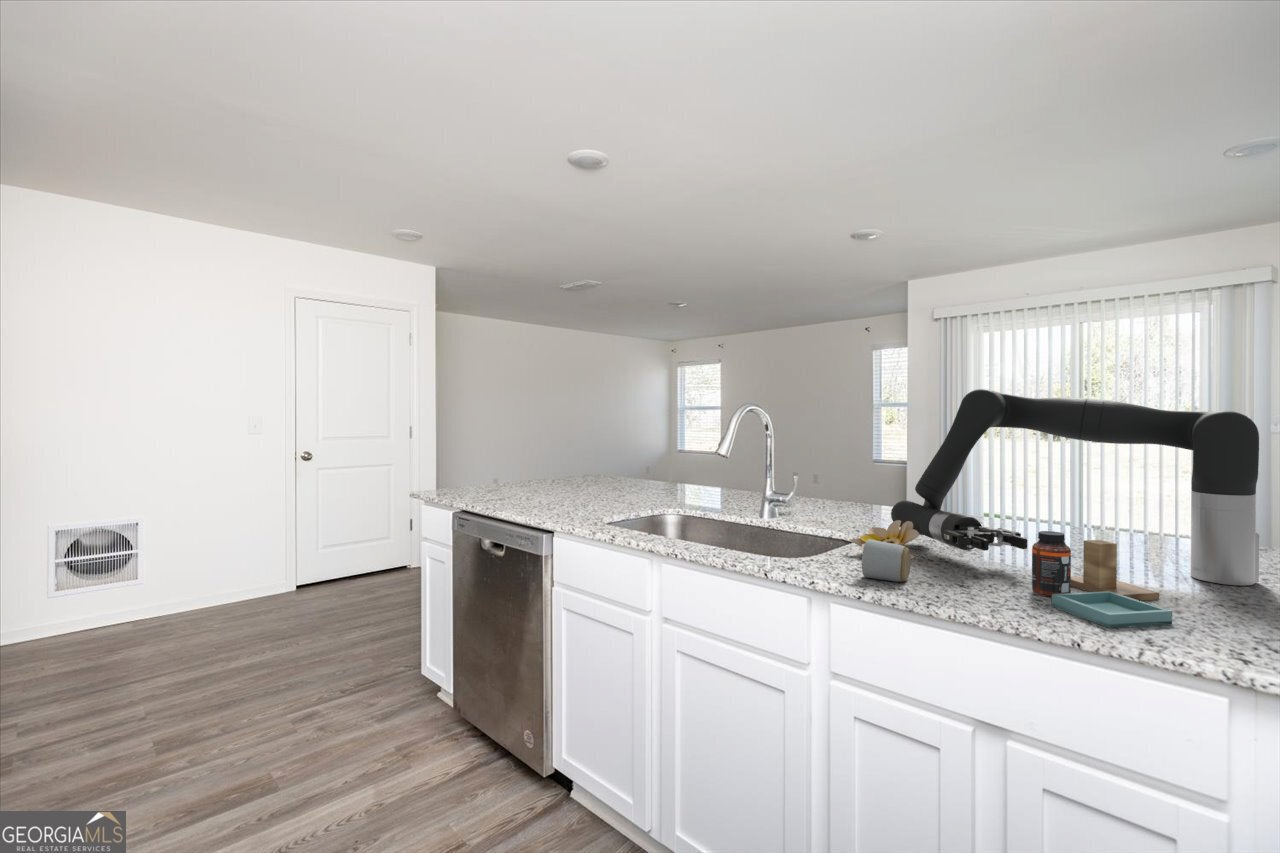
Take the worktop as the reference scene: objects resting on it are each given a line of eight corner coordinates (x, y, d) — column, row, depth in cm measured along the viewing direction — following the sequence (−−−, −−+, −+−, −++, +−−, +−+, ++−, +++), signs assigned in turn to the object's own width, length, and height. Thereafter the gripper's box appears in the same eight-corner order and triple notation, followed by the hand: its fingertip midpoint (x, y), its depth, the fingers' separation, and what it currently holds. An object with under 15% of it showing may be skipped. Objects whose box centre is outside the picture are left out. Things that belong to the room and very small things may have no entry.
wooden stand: (1100, 581, 122) (1100, 534, 122) (1159, 599, 110) (1159, 547, 110) (1063, 583, 121) (1063, 536, 120) (1119, 601, 109) (1119, 549, 109)
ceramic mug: (904, 586, 119) (905, 546, 119) (860, 580, 124) (861, 542, 124) (914, 575, 128) (914, 538, 128) (873, 570, 133) (873, 534, 132)
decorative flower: (839, 543, 151) (849, 503, 150) (880, 552, 153) (891, 513, 152) (870, 562, 136) (882, 518, 136) (916, 571, 138) (928, 528, 137)
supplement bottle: (1077, 599, 110) (1077, 536, 110) (1040, 598, 111) (1040, 535, 111) (1061, 590, 116) (1062, 530, 116) (1026, 588, 117) (1026, 529, 117)
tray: (1109, 603, 108) (1109, 591, 108) (1172, 624, 97) (1172, 611, 97) (1051, 606, 106) (1051, 594, 106) (1109, 628, 95) (1109, 614, 95)
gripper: (925, 514, 139) (974, 527, 123) (983, 512, 141) (1038, 525, 125) (925, 547, 140) (974, 564, 124) (983, 545, 142) (1038, 562, 126)
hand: (1006, 544), depth 125 cm, fingers open, 8 cm apart
